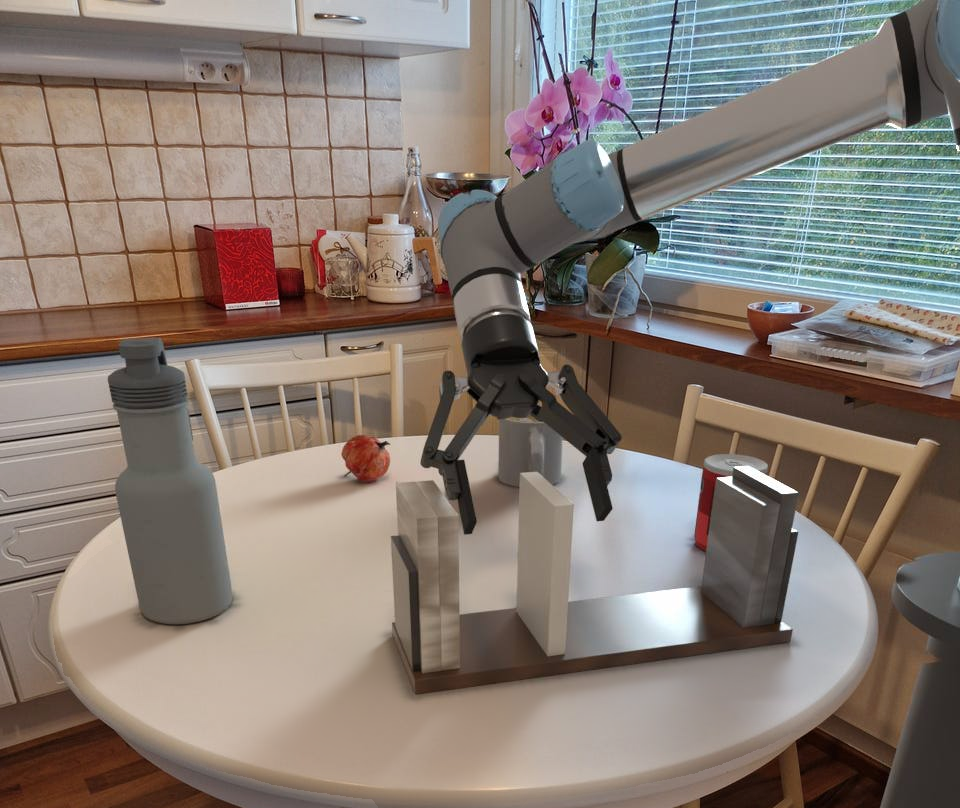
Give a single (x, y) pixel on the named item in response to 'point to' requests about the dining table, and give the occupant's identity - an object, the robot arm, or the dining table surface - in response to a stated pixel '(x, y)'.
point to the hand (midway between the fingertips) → (539, 522)
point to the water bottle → (166, 493)
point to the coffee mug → (528, 450)
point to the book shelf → (593, 622)
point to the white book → (544, 561)
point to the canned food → (711, 470)
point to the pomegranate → (366, 457)
